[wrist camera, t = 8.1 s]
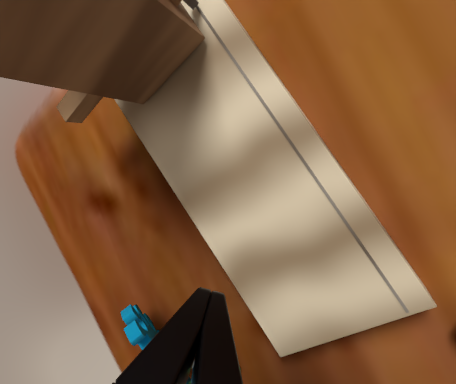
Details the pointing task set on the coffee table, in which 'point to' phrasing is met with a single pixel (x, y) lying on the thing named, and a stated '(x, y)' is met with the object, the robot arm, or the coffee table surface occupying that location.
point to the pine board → (271, 194)
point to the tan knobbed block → (95, 47)
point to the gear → (140, 328)
